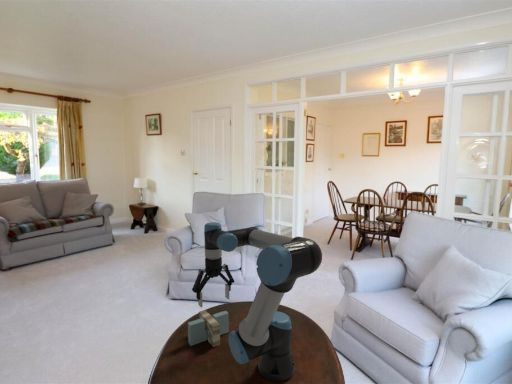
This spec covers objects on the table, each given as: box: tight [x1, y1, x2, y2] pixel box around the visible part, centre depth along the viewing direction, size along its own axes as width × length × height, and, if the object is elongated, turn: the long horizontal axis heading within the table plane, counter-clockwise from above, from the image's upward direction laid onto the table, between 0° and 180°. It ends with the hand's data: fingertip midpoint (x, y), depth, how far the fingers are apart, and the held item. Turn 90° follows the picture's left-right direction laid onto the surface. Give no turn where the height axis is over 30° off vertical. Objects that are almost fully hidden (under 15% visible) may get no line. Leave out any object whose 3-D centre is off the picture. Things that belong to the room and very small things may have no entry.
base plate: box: [187, 310, 230, 347], centre depth 145 cm, size 20×3×10 cm, turn 124°
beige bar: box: [198, 309, 221, 348], centre depth 145 cm, size 16×4×10 cm, turn 34°
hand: (214, 301), depth 138 cm, fingers open, 13 cm apart
